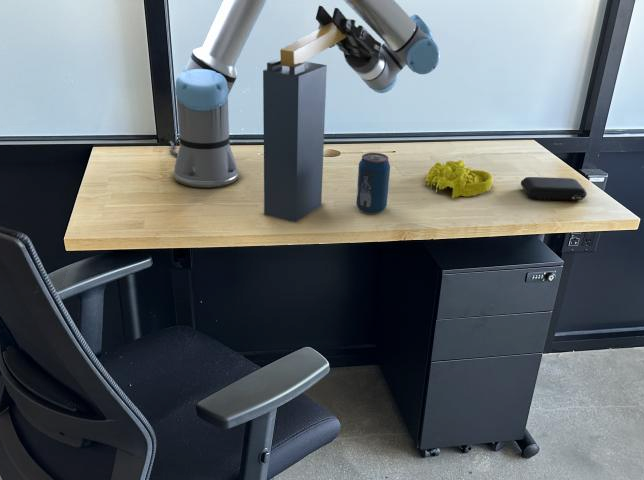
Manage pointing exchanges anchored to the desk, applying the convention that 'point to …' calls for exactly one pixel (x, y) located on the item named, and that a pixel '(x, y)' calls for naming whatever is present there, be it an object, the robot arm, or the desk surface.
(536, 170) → the desk surface
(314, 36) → the bar
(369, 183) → the soda can
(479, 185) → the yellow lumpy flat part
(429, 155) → the desk surface
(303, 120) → the door post
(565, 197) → the carrying case
